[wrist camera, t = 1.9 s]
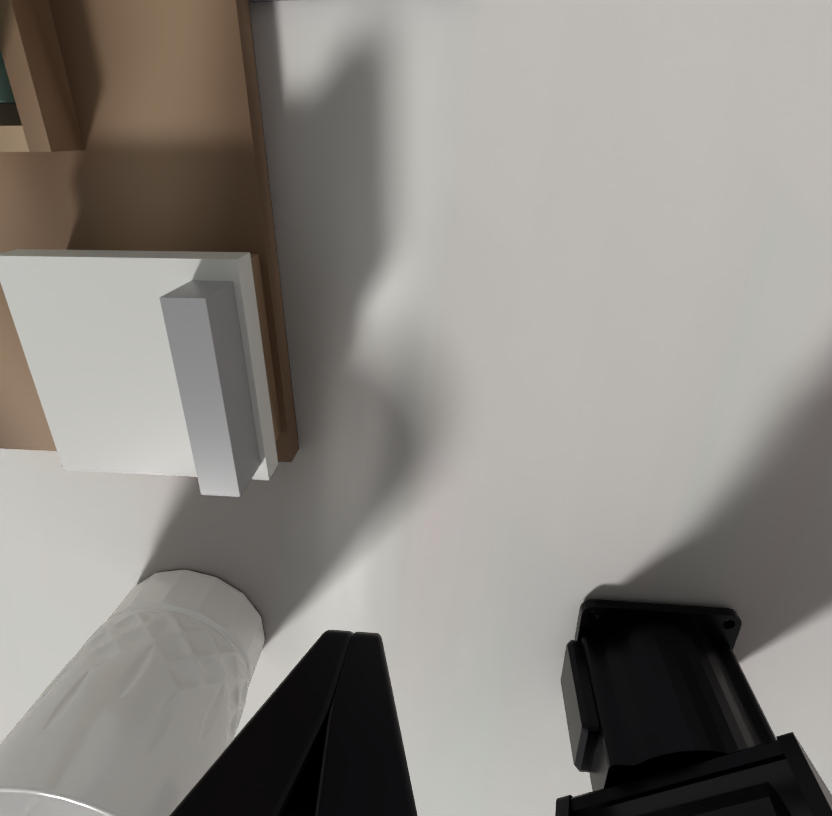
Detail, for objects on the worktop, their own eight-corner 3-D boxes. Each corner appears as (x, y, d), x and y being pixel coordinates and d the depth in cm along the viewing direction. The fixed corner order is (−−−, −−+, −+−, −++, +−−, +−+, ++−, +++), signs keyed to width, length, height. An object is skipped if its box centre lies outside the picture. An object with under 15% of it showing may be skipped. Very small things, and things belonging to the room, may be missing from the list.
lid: (250, 252, 16) (209, 274, 14) (278, 464, 19) (249, 513, 17) (17, 249, 17) (-63, 269, 14) (81, 455, 20) (25, 501, 17)
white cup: (245, 548, 25) (116, 784, 16) (298, 671, 28) (217, 923, 19) (90, 566, 26) (-109, 792, 17) (158, 681, 29) (21, 921, 20)
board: (229, -169, 14) (183, -225, 12) (298, 448, 22) (279, 483, 20) (-200, -146, 15) (-317, -194, 13) (15, 435, 23) (-34, 468, 21)
